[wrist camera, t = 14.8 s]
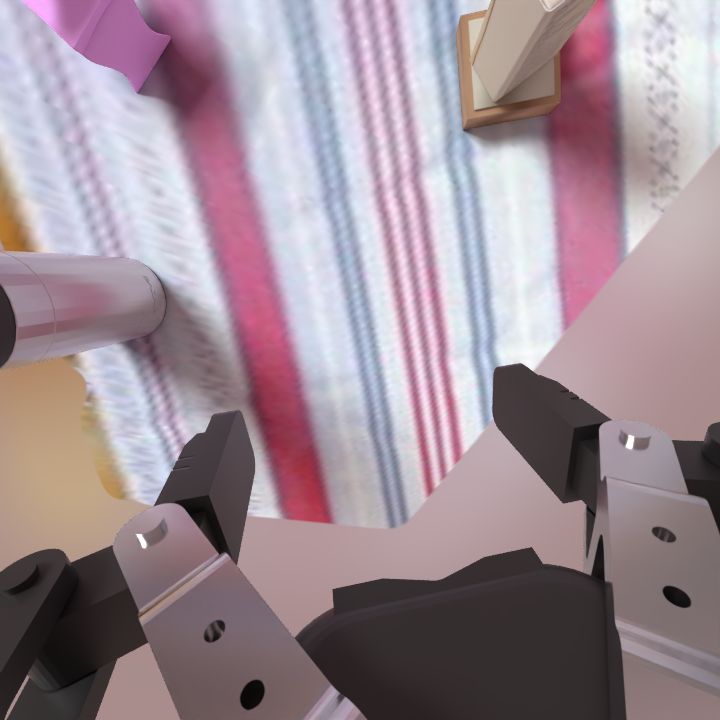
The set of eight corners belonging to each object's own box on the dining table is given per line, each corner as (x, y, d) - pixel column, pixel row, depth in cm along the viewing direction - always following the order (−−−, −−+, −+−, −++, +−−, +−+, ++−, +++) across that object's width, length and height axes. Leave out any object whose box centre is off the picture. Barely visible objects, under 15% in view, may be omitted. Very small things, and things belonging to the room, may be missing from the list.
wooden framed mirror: (462, 130, 35) (468, 118, 33) (455, 34, 34) (461, 14, 31) (549, 113, 34) (562, 100, 32) (546, 14, 33) (559, -9, 30)
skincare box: (531, 8, 30) (618, -160, 19) (558, 57, 31) (658, -76, 19) (465, 62, 32) (508, -63, 20) (492, 108, 32) (549, 12, 20)
